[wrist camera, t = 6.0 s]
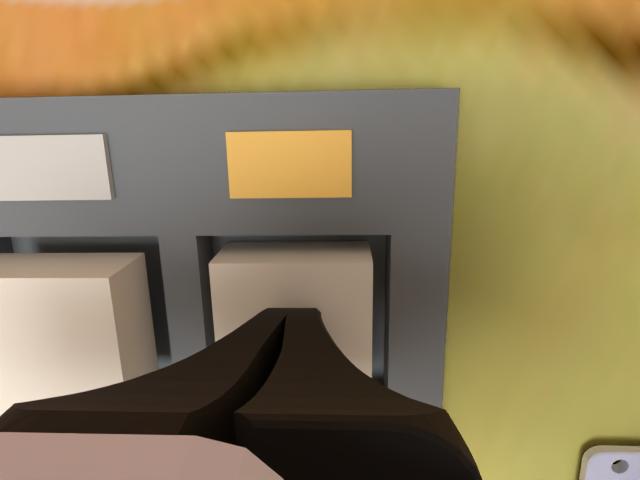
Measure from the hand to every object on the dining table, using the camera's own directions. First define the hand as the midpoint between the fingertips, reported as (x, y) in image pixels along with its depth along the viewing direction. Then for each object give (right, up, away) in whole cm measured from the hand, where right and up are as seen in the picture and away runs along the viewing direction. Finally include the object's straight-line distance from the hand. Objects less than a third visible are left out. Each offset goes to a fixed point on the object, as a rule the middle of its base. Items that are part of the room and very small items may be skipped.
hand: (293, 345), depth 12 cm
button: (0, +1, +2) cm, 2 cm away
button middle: (-6, 0, +2) cm, 6 cm away
